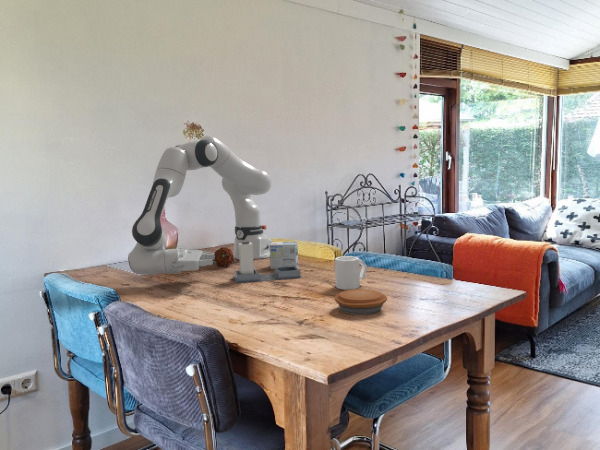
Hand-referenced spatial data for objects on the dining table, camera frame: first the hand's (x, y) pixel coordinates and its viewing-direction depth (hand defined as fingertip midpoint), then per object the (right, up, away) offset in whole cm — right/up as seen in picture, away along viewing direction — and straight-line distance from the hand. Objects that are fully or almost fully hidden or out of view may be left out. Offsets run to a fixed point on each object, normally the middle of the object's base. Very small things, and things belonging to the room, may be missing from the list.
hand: (213, 259), depth 204 cm
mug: (+49, -9, -9) cm, 51 cm away
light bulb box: (+25, -6, +21) cm, 33 cm away
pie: (+49, -13, -38) cm, 63 cm away
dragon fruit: (-1, -5, +33) cm, 33 cm away
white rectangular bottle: (+12, -7, +2) cm, 14 cm away
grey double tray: (+19, -8, +4) cm, 21 cm away
